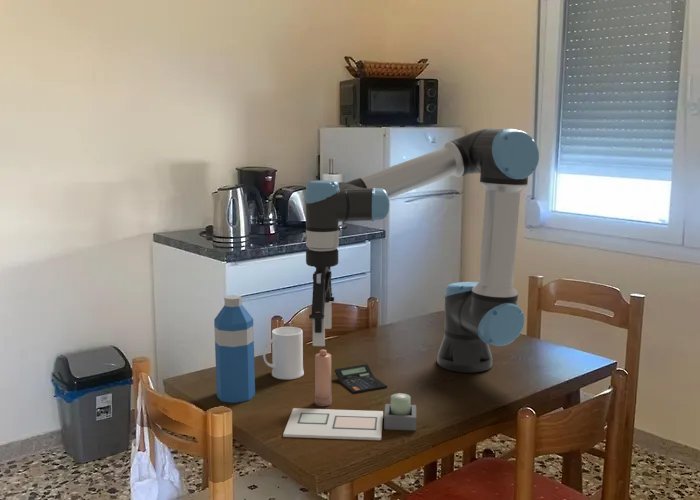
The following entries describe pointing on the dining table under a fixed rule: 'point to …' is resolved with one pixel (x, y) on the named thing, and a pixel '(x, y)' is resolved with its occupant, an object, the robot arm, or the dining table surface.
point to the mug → (286, 353)
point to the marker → (323, 379)
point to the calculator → (358, 379)
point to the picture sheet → (334, 424)
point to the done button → (400, 404)
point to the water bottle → (234, 352)
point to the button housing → (400, 419)
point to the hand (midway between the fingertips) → (322, 336)
